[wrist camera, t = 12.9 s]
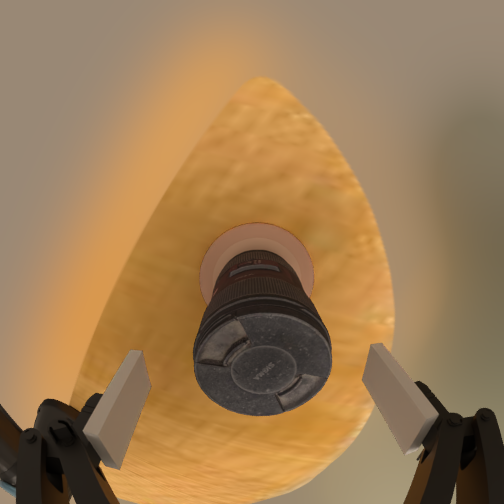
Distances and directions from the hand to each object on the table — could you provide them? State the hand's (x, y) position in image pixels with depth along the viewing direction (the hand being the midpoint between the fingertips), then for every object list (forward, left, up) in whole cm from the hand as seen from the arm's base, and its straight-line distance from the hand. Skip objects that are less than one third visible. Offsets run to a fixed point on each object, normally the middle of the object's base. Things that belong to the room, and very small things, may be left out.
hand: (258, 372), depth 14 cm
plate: (0, 0, -15) cm, 15 cm away
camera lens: (0, 0, -15) cm, 15 cm away
